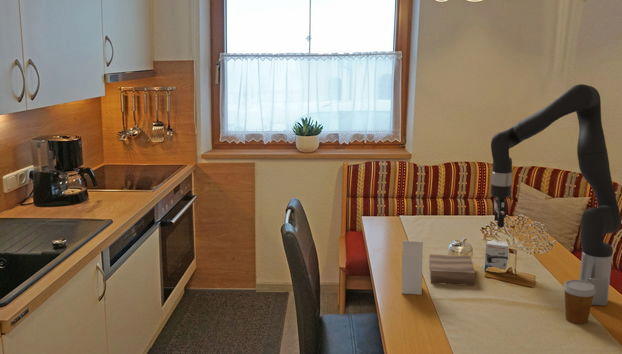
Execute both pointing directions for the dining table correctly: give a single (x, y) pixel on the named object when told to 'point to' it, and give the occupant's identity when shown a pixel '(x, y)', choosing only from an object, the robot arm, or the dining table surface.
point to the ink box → (496, 254)
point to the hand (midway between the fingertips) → (498, 223)
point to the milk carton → (412, 267)
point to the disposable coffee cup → (578, 300)
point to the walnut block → (451, 269)
